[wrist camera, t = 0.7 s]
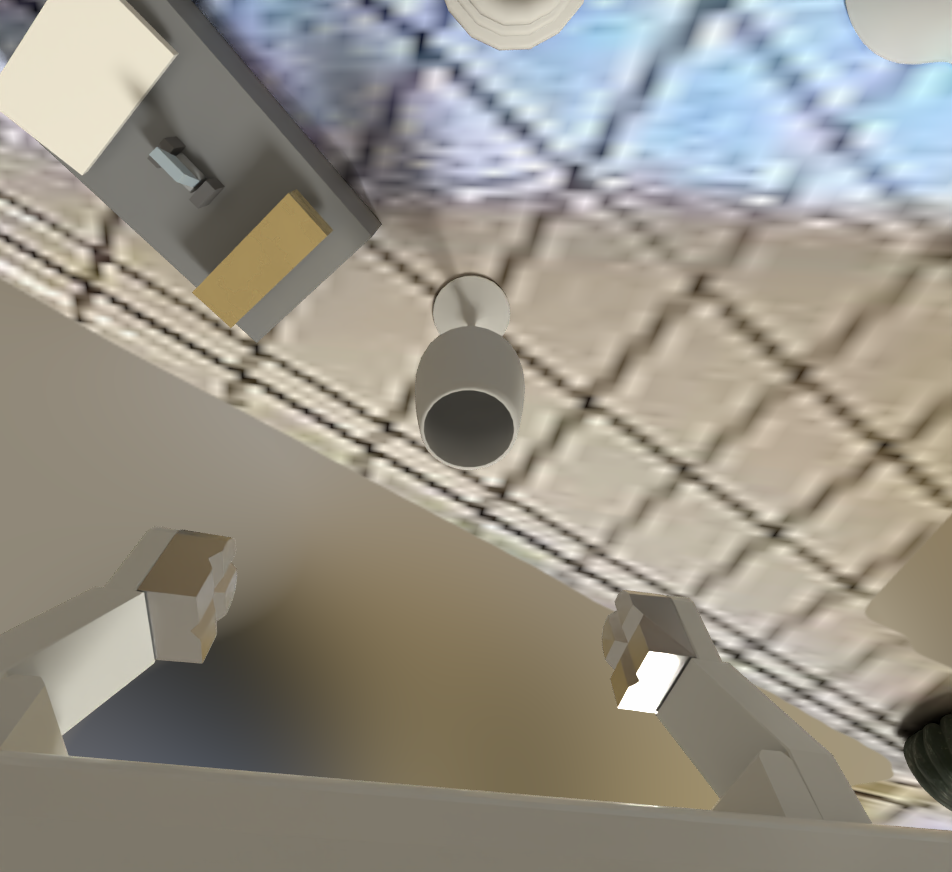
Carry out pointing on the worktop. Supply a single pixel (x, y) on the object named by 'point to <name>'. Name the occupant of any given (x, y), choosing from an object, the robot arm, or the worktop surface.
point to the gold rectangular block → (263, 258)
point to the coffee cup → (513, 20)
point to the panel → (221, 166)
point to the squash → (933, 759)
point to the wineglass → (470, 378)
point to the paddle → (179, 169)
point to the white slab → (82, 75)
